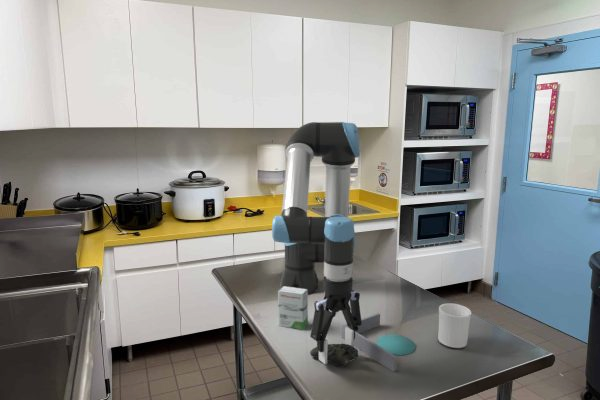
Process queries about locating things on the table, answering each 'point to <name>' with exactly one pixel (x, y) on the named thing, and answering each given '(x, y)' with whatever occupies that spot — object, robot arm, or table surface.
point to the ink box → (293, 307)
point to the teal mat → (396, 344)
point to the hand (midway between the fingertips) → (336, 355)
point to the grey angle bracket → (369, 346)
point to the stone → (338, 353)
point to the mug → (453, 325)
